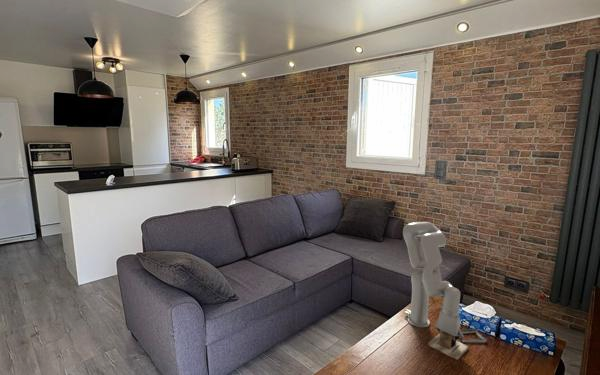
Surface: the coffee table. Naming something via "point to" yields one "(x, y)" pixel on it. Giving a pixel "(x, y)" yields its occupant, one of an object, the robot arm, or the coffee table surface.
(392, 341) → the coffee table surface
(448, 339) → the walnut sanding block
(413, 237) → the robot arm
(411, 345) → the coffee table surface
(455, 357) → the pine board
